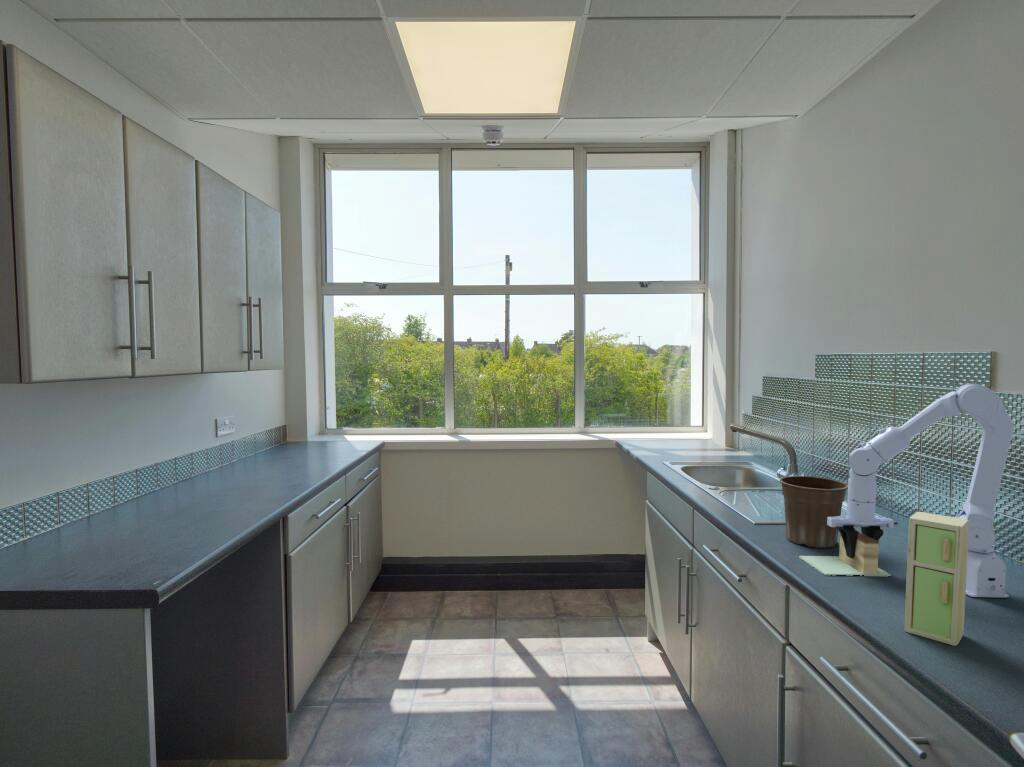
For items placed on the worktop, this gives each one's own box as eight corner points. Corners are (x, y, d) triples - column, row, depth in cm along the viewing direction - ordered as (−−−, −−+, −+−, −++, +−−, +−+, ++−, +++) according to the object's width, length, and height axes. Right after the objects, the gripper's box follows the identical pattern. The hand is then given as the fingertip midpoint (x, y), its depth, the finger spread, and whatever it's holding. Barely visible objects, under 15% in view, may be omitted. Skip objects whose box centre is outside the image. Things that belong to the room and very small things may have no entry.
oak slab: (877, 574, 136) (879, 541, 136) (863, 574, 136) (865, 541, 136) (851, 559, 146) (853, 528, 146) (838, 558, 146) (840, 528, 146)
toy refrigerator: (901, 632, 108) (907, 517, 107) (911, 620, 113) (917, 510, 112) (955, 648, 102) (963, 527, 101) (963, 635, 108) (970, 519, 107)
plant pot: (803, 552, 151) (806, 489, 151) (764, 533, 167) (767, 476, 166) (859, 549, 155) (862, 487, 154) (816, 531, 170) (819, 475, 170)
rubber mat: (890, 576, 136) (890, 574, 136) (824, 575, 136) (824, 573, 136) (859, 558, 148) (859, 556, 148) (798, 557, 148) (798, 555, 148)
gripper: (881, 496, 144) (878, 551, 145) (821, 495, 144) (818, 550, 145) (900, 503, 137) (897, 562, 138) (837, 502, 137) (834, 561, 138)
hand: (858, 557), depth 141 cm, fingers closed on oak slab, 3 cm apart
